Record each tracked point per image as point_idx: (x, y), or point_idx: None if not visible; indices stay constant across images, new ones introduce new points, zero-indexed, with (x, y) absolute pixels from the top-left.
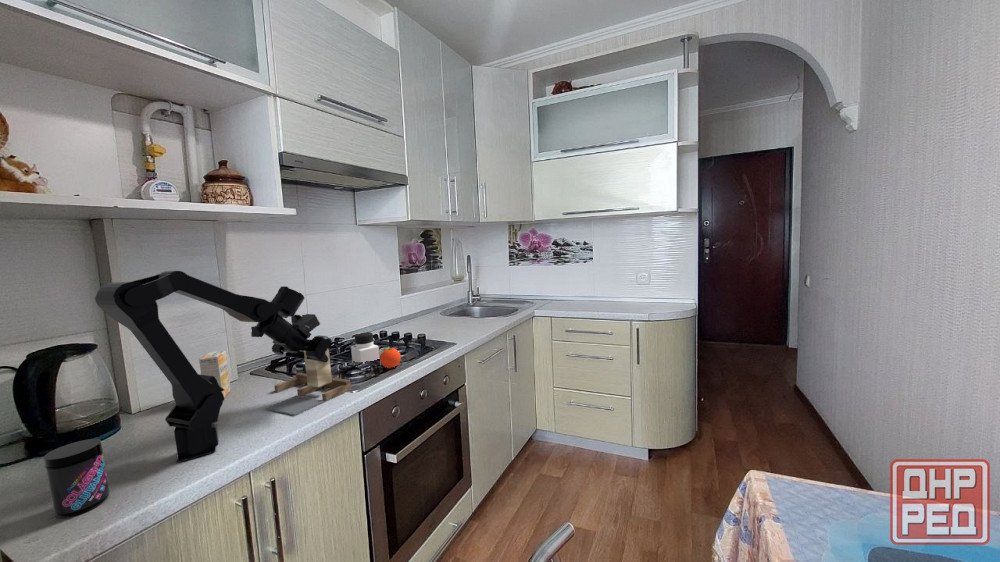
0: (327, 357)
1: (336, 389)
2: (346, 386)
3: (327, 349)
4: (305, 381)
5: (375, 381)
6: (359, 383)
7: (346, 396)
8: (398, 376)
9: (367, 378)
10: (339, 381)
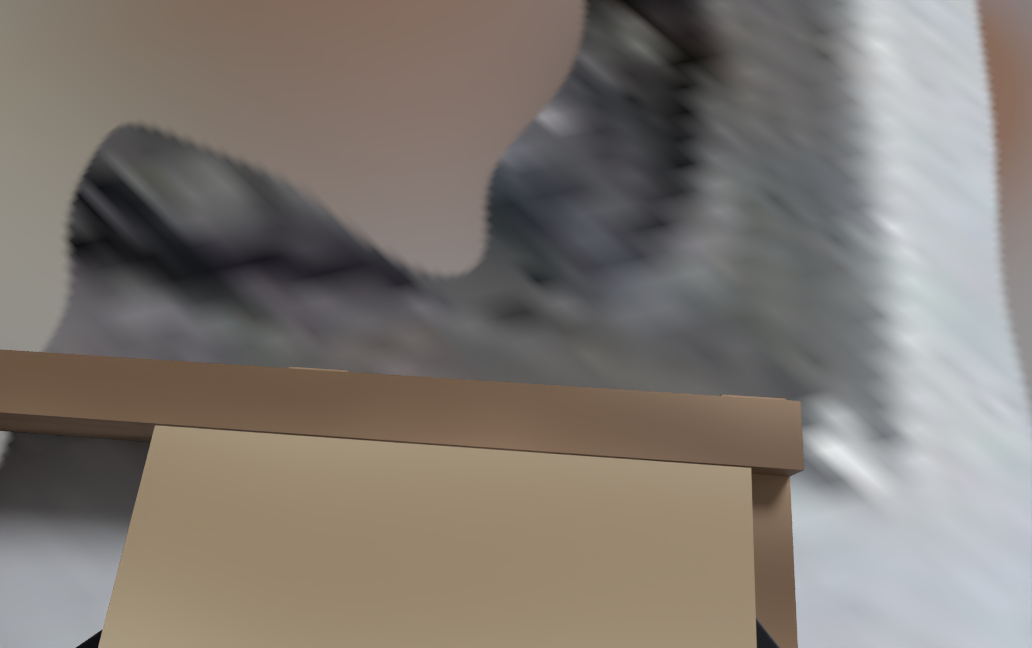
0: (766, 632)
1: (794, 643)
2: (783, 478)
3: (748, 526)
4: (58, 429)
5: (818, 166)
6: (689, 250)
7: (884, 607)
8: (940, 10)
9: (657, 123)
10: (672, 461)
